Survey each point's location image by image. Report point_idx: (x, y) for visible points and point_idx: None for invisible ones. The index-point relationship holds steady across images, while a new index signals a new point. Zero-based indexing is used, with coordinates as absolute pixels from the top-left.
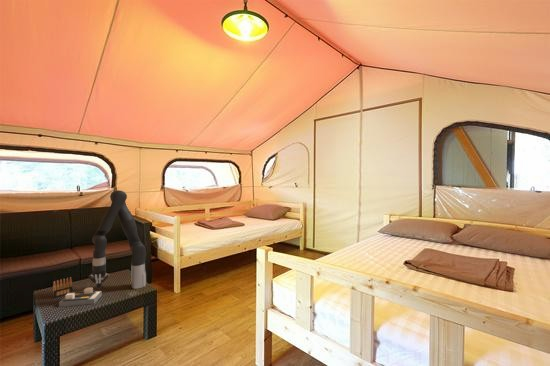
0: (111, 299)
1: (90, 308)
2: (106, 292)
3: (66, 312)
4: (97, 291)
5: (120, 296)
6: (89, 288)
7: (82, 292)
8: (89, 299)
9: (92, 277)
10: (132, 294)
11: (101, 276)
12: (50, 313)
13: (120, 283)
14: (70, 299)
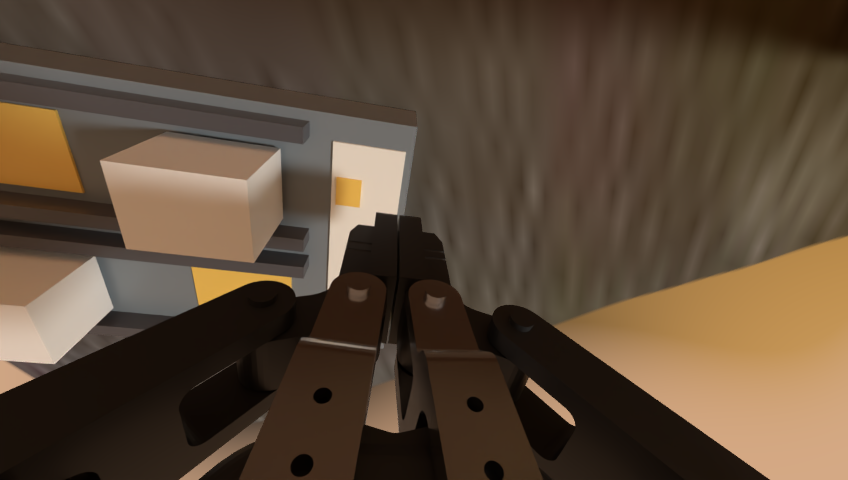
0: (541, 276)
1: (380, 375)
2: (467, 26)
3: (202, 382)
4: (349, 128)
5: (635, 237)
6: (202, 213)
7: (85, 105)
8: None
9: (66, 455)
10: (763, 230)
11: None
12: (59, 365)
13: None
14: (92, 332)
